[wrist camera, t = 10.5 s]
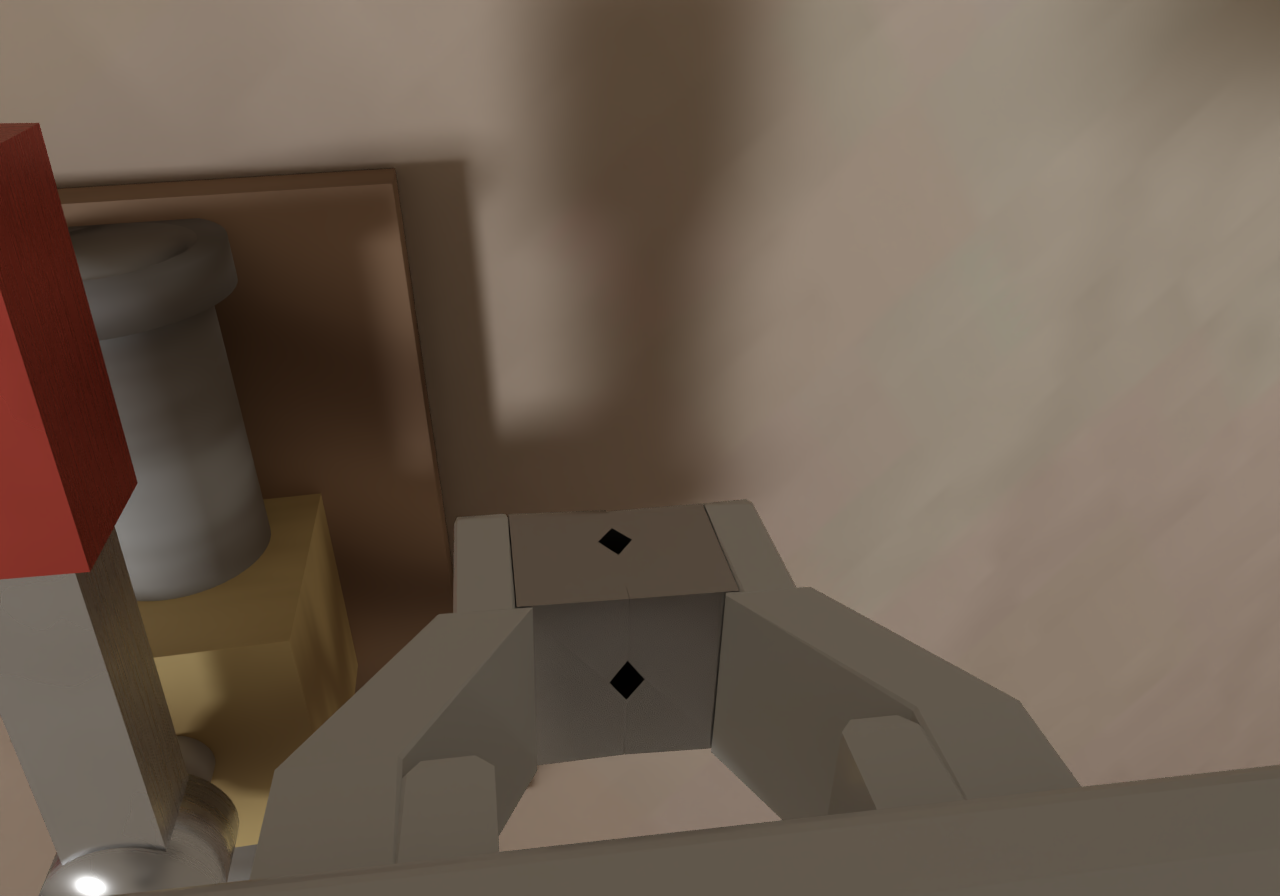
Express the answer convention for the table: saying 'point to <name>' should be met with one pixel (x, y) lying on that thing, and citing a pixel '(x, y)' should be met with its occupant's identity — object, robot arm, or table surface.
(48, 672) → the valve lever
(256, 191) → the valve mount
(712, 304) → the table surface
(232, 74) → the table surface
